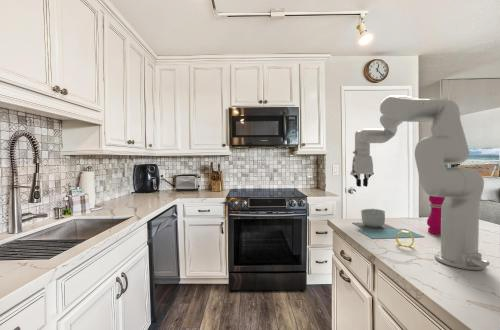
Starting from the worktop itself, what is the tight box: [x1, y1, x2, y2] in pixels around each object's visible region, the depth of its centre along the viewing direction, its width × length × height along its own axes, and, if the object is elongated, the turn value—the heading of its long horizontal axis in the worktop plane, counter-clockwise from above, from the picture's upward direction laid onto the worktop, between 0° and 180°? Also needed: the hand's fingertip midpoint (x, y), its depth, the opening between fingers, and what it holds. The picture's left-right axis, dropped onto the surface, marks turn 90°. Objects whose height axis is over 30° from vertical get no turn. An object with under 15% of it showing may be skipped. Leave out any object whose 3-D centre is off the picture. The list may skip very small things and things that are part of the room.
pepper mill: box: [426, 195, 445, 236], centre depth 113 cm, size 7×7×20 cm
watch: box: [395, 230, 415, 248], centre depth 97 cm, size 6×3×6 cm, turn 52°
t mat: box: [352, 222, 425, 240], centre depth 119 cm, size 25×24×1 cm
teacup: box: [360, 208, 386, 228], centre depth 125 cm, size 14×11×8 cm
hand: (362, 186), depth 136 cm, fingers open, 3 cm apart
